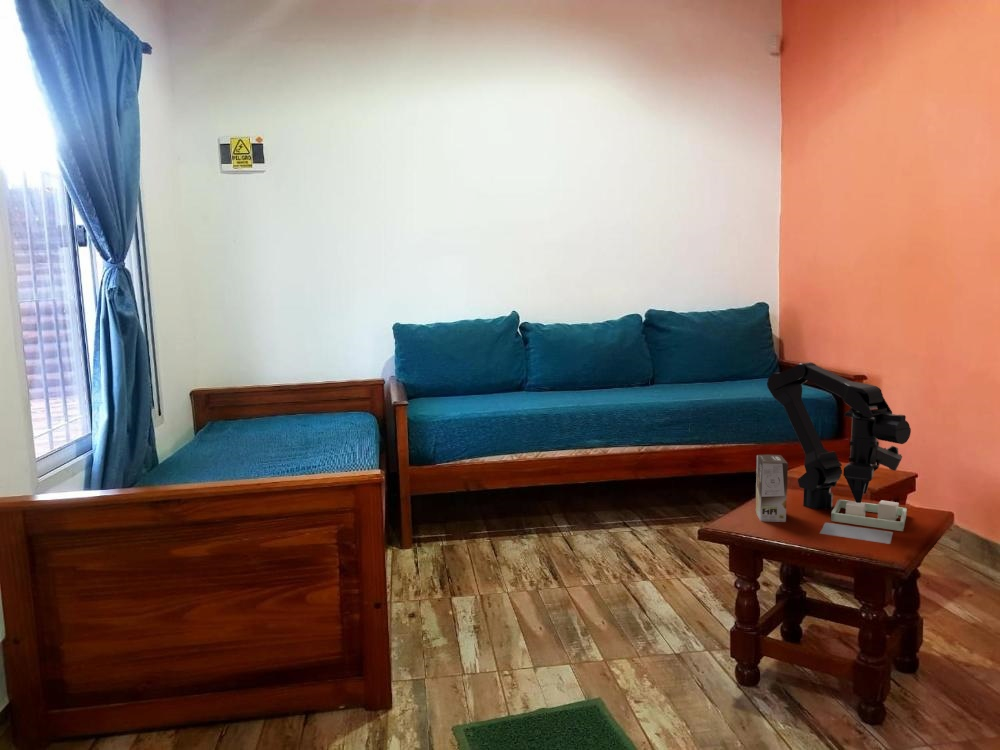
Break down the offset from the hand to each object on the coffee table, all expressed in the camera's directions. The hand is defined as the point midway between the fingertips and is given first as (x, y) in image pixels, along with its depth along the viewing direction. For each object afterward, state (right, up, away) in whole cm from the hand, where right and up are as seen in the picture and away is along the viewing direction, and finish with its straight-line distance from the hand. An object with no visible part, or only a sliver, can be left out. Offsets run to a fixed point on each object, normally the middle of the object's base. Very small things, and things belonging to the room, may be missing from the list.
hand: (861, 497), depth 189 cm
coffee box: (-21, -7, +5) cm, 23 cm away
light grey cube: (+8, -6, +2) cm, 10 cm away
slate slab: (-5, -8, -9) cm, 13 cm away
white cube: (-1, -6, +1) cm, 6 cm away
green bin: (+3, -6, +2) cm, 7 cm away
